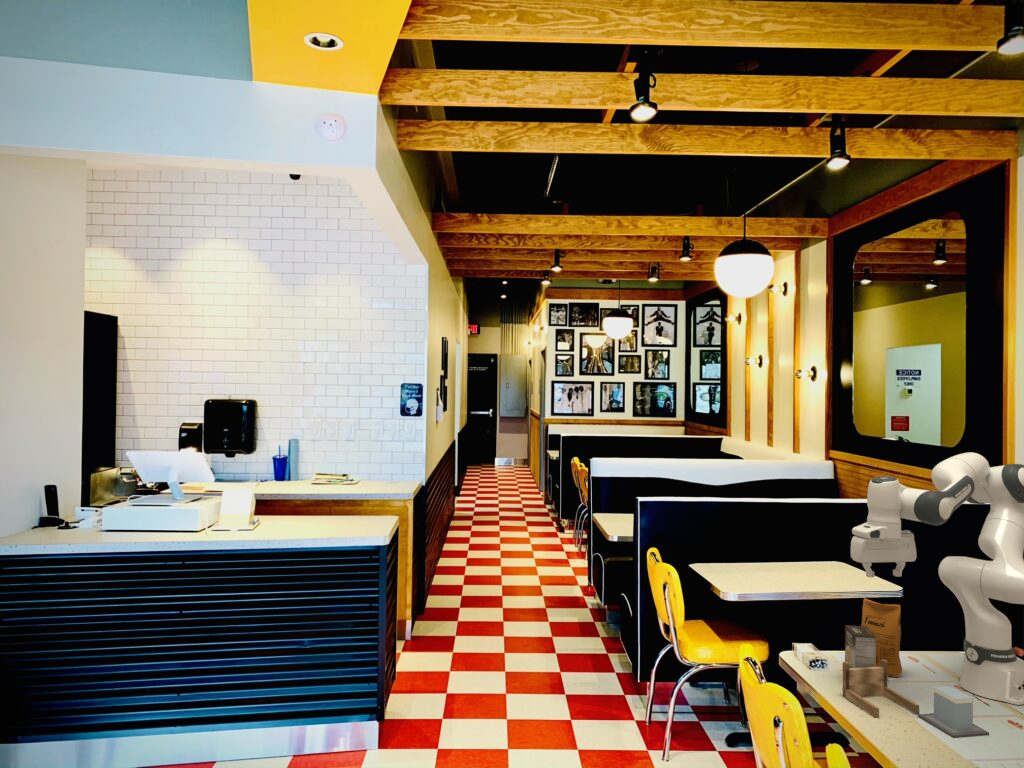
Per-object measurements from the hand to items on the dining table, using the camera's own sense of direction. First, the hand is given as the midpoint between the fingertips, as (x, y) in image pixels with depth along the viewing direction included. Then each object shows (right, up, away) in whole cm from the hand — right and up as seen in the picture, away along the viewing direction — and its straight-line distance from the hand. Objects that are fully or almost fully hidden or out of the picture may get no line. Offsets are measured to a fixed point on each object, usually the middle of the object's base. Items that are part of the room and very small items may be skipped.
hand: (883, 576), depth 186 cm
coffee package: (+7, -35, +15) cm, 39 cm away
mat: (+6, -34, -21) cm, 40 cm away
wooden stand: (-7, -34, -11) cm, 36 cm away
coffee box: (-5, -34, +4) cm, 35 cm away
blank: (+6, -33, -21) cm, 39 cm away
